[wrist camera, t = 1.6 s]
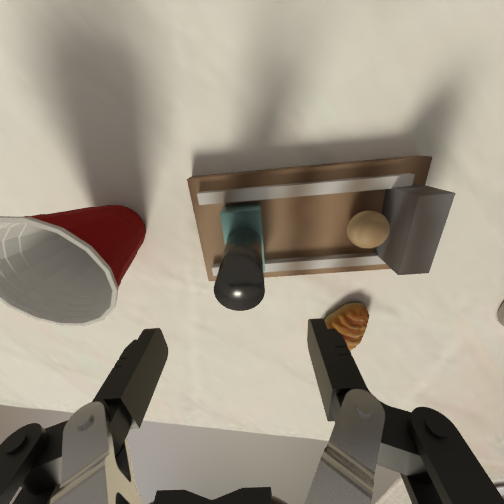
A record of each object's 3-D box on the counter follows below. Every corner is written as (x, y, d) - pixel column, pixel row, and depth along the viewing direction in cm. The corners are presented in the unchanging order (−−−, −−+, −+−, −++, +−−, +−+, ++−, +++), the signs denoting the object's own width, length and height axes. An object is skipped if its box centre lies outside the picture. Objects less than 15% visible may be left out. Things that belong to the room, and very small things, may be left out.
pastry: (337, 293, 32) (348, 311, 29) (375, 305, 33) (390, 324, 30) (308, 335, 36) (314, 355, 33) (343, 345, 37) (352, 365, 34)
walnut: (380, 204, 24) (402, 215, 20) (374, 238, 26) (393, 253, 22) (343, 207, 24) (359, 219, 20) (340, 240, 26) (353, 256, 22)
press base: (418, 155, 23) (479, 160, 17) (393, 260, 29) (431, 292, 23) (192, 176, 24) (170, 187, 18) (211, 273, 30) (200, 306, 24)
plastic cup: (105, 270, 30) (23, 340, 20) (61, 193, 26) (-78, 230, 15) (178, 259, 29) (135, 325, 19) (147, 177, 25) (65, 203, 14)
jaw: (260, 202, 23) (264, 244, 14) (264, 258, 27) (269, 325, 17) (223, 205, 24) (202, 249, 14) (231, 260, 27) (219, 328, 17)
